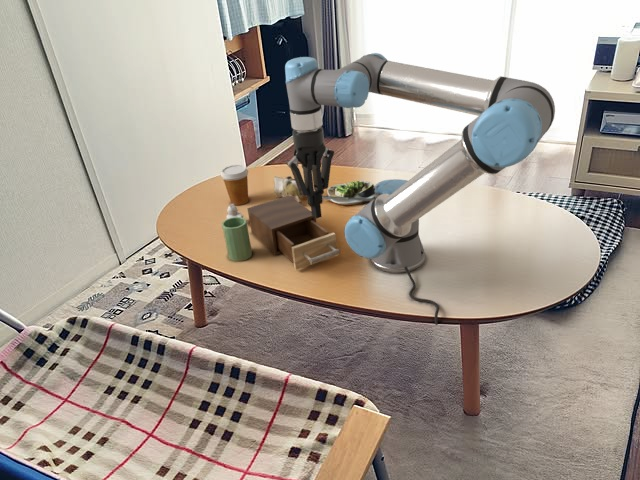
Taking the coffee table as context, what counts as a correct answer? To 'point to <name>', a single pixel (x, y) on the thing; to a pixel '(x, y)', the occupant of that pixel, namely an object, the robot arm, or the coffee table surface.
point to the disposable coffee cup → (236, 183)
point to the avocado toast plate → (351, 193)
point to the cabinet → (276, 219)
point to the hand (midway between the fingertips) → (316, 215)
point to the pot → (237, 238)
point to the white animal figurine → (233, 212)
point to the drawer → (306, 243)
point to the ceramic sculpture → (287, 188)
